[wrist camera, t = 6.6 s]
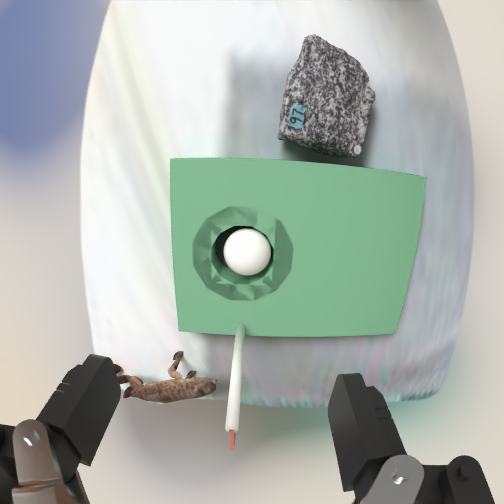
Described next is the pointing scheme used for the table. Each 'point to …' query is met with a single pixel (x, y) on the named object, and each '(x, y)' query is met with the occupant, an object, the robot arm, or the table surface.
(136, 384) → the toy
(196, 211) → the green
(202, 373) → the table surface
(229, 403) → the pin
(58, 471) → the robot arm
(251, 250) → the ball
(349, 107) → the rock
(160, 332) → the table surface
